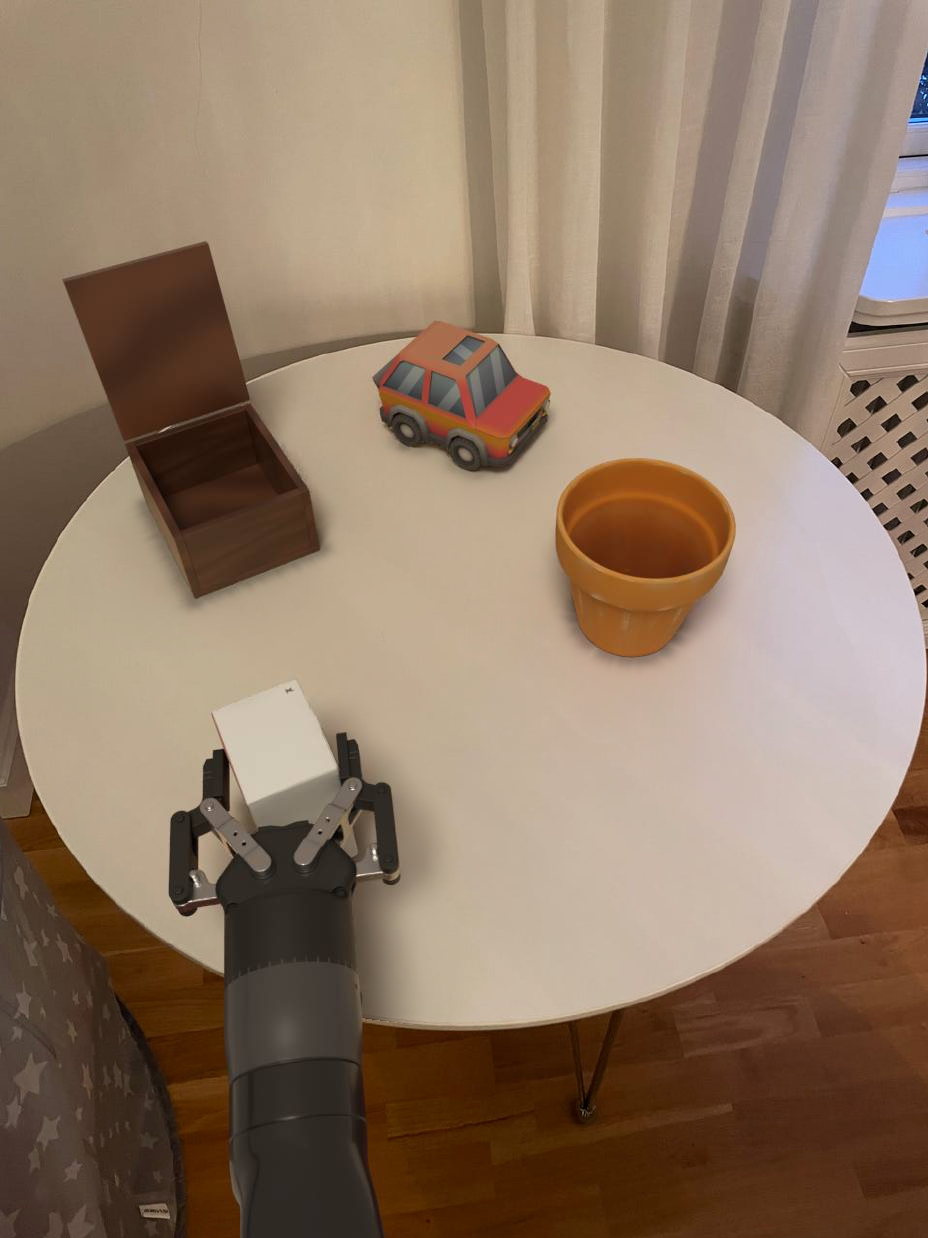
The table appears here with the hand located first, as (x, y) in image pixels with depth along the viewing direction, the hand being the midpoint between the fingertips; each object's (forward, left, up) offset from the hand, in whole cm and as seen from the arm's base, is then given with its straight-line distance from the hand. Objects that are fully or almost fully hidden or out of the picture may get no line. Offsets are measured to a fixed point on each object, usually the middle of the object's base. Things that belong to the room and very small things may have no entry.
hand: (281, 747), depth 63 cm
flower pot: (+30, +16, -11) cm, 36 cm away
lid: (-8, +41, +5) cm, 42 cm away
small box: (0, 0, -11) cm, 11 cm away
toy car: (+20, +45, -11) cm, 50 cm away
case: (-5, +34, -11) cm, 36 cm away
